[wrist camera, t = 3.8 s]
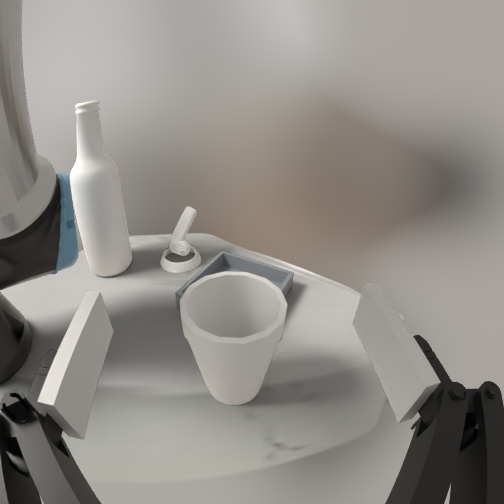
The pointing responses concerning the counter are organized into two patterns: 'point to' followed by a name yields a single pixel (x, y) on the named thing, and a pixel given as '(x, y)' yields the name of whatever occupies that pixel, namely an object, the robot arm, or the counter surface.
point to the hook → (181, 245)
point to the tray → (241, 264)
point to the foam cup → (233, 331)
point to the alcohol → (98, 198)
